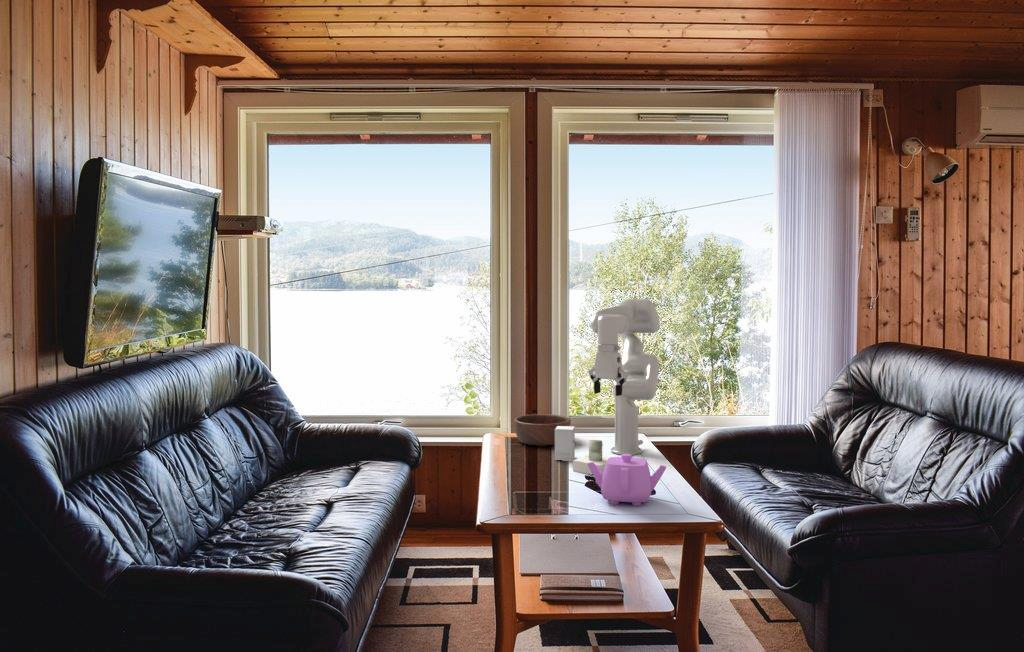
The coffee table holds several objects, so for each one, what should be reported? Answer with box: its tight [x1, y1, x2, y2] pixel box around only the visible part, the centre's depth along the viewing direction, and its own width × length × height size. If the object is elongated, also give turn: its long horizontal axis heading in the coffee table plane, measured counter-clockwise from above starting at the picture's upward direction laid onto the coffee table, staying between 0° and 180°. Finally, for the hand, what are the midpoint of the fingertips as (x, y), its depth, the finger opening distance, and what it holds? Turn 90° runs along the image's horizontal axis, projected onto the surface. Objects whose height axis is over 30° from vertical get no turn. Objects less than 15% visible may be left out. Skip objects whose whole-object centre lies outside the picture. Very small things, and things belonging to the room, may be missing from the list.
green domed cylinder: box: [588, 439, 603, 461], centre depth 278 cm, size 5×5×7 cm
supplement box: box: [554, 425, 576, 462], centre depth 297 cm, size 7×7×13 cm
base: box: [572, 455, 610, 475], centre depth 279 cm, size 12×12×4 cm
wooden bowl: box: [513, 413, 572, 447], centre depth 329 cm, size 25×25×10 cm
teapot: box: [588, 454, 667, 507], centre depth 240 cm, size 19×18×15 cm
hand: (607, 394), depth 280 cm, fingers open, 9 cm apart
